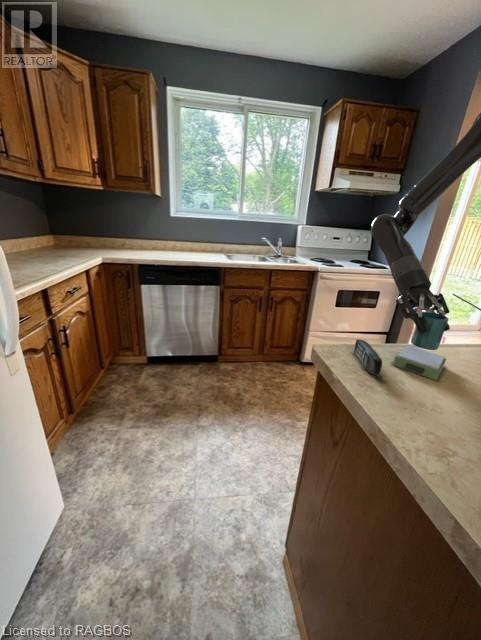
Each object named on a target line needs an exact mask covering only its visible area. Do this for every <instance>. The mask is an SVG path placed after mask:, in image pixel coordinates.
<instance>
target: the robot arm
mask: <svg viewBox="0 0 481 640" xmlns="http://www.w3.org/2000/svg"><path fill="white" fill-rule="evenodd" d="M480 159H481V112H480V113H479V114H478V115H477V116H476V118H475V119H474V121H473V123H472V124H471V127H470V128H469V129H468V131H467V132H466V133H465V135H464V136H463V137H461V139H460V140H459V141H458V143H456V145H455V146H454V147H453V148H452V149H451V150H450V151H449V152H448V153H447V154H446V155H445V156H444V157H442V159H440V161H439V162H438V163H437V164H436V165H434V166H433V167H432V168H431V169H430V170H429V171H428V172H426V174H425V175H424V176H423V177H421V178H420V179H419V181H417V183H416V184H414V185H413V186H412V188H410V189H409V190H408V191H407V192H406V193H405V194H404V196H402V198H401V199H400V200H399V202H398V211H397V212H396V213H395V215H392V214H390V213H382V214H379V215H377V216H376V217H375V218H374V219H373V221H372V222H371V225H370V226H371V227H370V232H371V236H372V237H373V239H374V241H375V243H376V244H377V246H378V248H379V249H380V250H381V252H382V253H383V255H384V258H385V261H386V263H387V266H388V267H389V270H390V273H391V274H390V275H391V277H392V279H393V280H394V283H395V286H396V288H397V291H398V292H399V295H400V296H398V297H397V298H395V302H396V305H398V308H399V309H400V312H401V314H402V315H403V317H404V319H405V320H409V319H410V320H411V321H412V322H413V323H414V326H416V327H417V330H418V331H419V333H420V334H424V333H426V332H428V331H429V328H428V326H427V324H426V322H425V320H424V318H423V317H422V312H423V311H424V312H432V313H437V314H440V315H443V316H447V315H448V314H449V313H450V309H449V306H448V304H447V302H446V299H445V297H444V295H443V293H442V292H439V293H437V294H434V293H433V292H432V291H431V289H430V288H431V286H432V282H431V280H430V278H429V276H428V274H427V272H426V269H425V268H424V266H423V263H422V262H421V260H420V258H418V256H417V254H416V252H415V251H414V247H413V246H412V244H411V243H410V242H409V241H408V240H407V239H406V238H405V236H406V234H408V232H409V231H410V230H411V228H412V227H413V225H414V224H415V223H416V222H417V220H418V219H419V217H420V216H421V215H423V213H424V212H425V211H427V210H428V209H429V207H431V206H432V205H433V204H434V203H435V202H436V201H438V200H439V198H440V197H441V196H442V195H443V194H445V193H446V191H447V190H449V188H450V187H451V186H453V184H454V183H455V182H456V181H457V180H458V179H459V178H460V177H461V176H462V175H464V173H466V171H468V169H470V168H471V167H472V166H473V165H474V164H475V163H476V162H478V161H479V160H480ZM452 296H454V297H455V298H457V299H459V300H461V301H462V302H465V303H466V304H468V305H470V306H471V307H474V308H475V309H476V310H478V311H480V312H481V308H480V307H478V306H477V305H475V304H473V303H471V302H469V301H468V300H466V299H465V298H462V297H460V296H459V295H457V294H456V293H452ZM450 329H451V327H450V325H449V321H448V322H447V325H446V328H445V331H444V333H445V332H448V331H450Z"/></svg>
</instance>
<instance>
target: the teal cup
mask: <svg viewBox="0 0 481 640" xmlns="http://www.w3.org/2000/svg"><path fill="white" fill-rule="evenodd" d="M422 317H423V318H424V320H425V322H426V324H427V326H428V328H429V331H428V332H426V333H424V334H420V333H419V331H418V330H417V327H416V325H414V330H413V333H412V336H411V340H410V343H411V345H413V346H415V347H416V348H418V349H422V350H426V351H437V350H438V349H439V348H440V345H441V343H442V339H443V338H444V334H445V332H446V331H445V328H446V325H447V322H448V323H449V320H450V319H449V317H448V316H447V315H445V316H443V315H440V314H437V312H435V313H432V312H426V311H422ZM444 331H445V332H444Z"/></svg>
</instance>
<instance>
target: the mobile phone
mask: <svg viewBox="0 0 481 640" xmlns="http://www.w3.org/2000/svg"><path fill="white" fill-rule="evenodd" d="M353 353H354V355H355V356H356V358H357V359H358V360H359V361H360V363H361V365H362V367H363V368H364V370H365V371H366V372H368V373H369V374H371V375H373V376H374V375H375V376H376V377H377V378H378V379H379V380H380V381H383V380H384V378H383V377H382V376H381V371H382V368H383V360H382V358H381V357H380V355H379V354H378V352H377V351H376V350H375V349H374V348H373V347H372V345H370V344H369V343H368V342H367V341H366V340H363V339H359V338H358V339H356V340H355V344H354V349H353Z"/></svg>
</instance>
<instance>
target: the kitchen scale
mask: <svg viewBox="0 0 481 640" xmlns="http://www.w3.org/2000/svg"><path fill="white" fill-rule="evenodd" d="M393 360H394V362H393V364H392V366H394V367H397V368H400V369H404V370H406V371H409V372H411V373H415V374H417V375H421V376H423V377H426V378H429V379H432V380H435V381H437V380H438V379H439V376H440V375H441V372H442V370H443V369H444V367H445V364H446V362H447V358H446V356H444V355H442V354H438V353H434V352H432V351H429V350H426V349H422V348H419V347H416V346H415V347H414V346H411V345H405V346H404V347H403V348H402V350H401V351H400V352H398V353H397V354H396V356H395V357H394V359H393Z"/></svg>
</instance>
